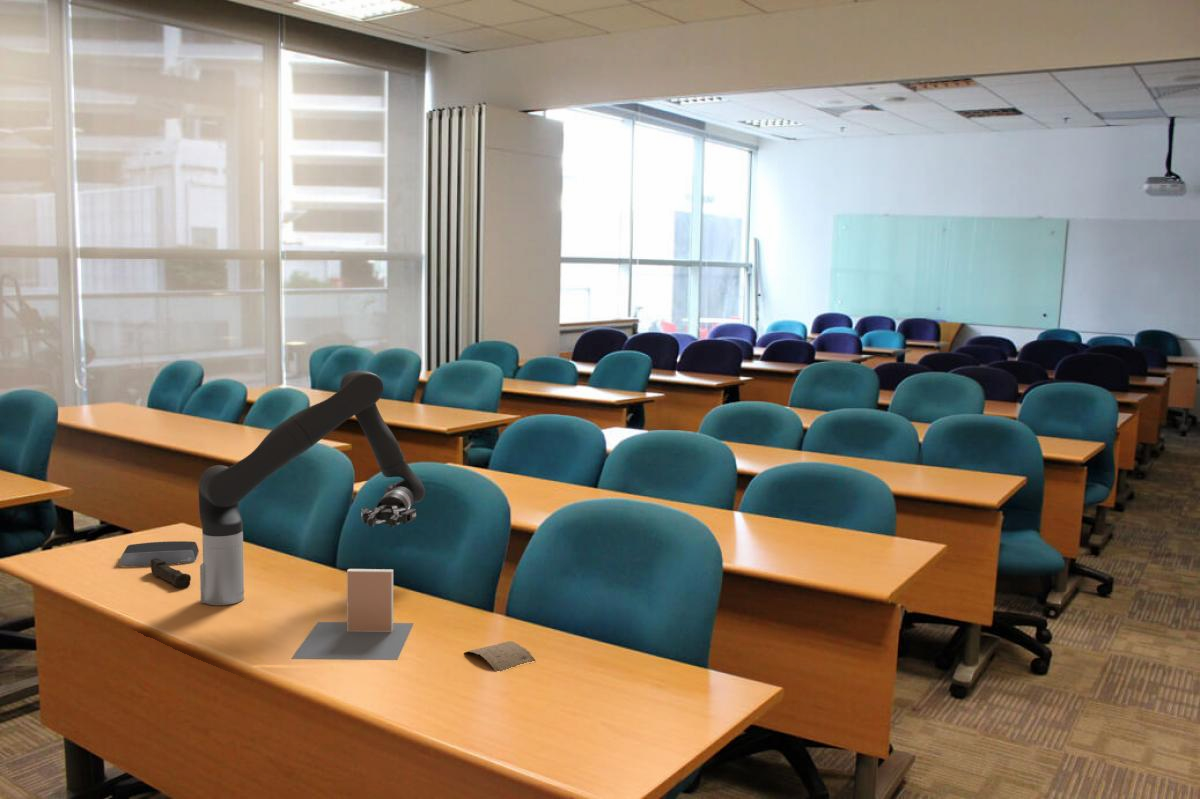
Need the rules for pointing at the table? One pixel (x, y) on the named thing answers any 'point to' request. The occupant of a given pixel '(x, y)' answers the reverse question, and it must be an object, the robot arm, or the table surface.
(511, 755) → the table surface
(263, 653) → the table surface
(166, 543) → the external hard drive
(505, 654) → the clay tablet
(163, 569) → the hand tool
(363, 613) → the tile
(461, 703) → the table surface
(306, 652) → the mat
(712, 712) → the table surface
